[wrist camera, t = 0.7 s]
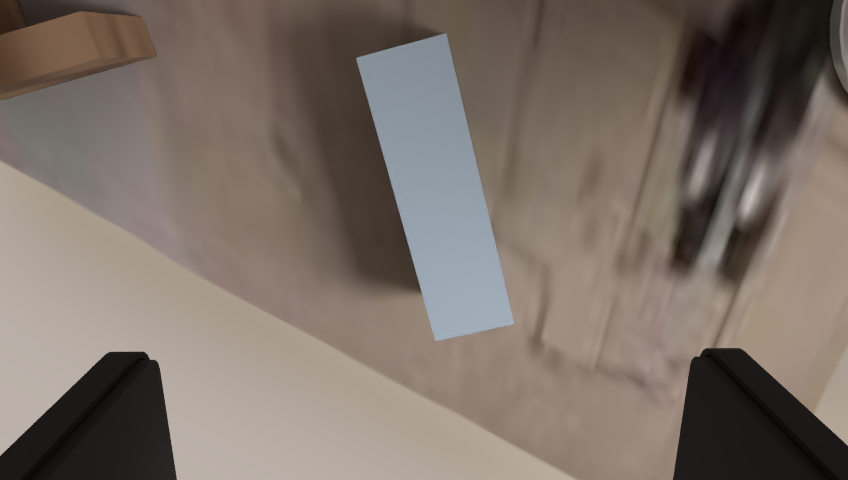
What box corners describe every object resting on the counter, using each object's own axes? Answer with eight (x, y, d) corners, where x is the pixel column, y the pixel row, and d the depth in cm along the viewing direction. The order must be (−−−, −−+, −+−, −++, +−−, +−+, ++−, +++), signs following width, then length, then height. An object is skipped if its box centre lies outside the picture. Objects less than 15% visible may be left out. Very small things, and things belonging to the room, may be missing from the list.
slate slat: (445, 35, 31) (446, 33, 25) (502, 278, 35) (514, 324, 29) (371, 55, 31) (356, 57, 26) (436, 293, 35) (435, 341, 30)
